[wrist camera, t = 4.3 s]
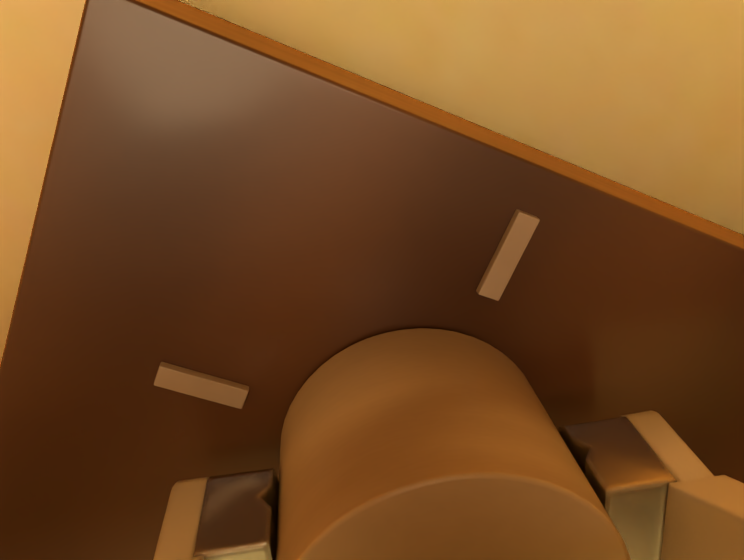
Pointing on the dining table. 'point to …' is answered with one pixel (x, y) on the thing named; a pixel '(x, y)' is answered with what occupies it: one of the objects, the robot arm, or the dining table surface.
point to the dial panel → (313, 274)
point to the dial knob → (431, 461)
